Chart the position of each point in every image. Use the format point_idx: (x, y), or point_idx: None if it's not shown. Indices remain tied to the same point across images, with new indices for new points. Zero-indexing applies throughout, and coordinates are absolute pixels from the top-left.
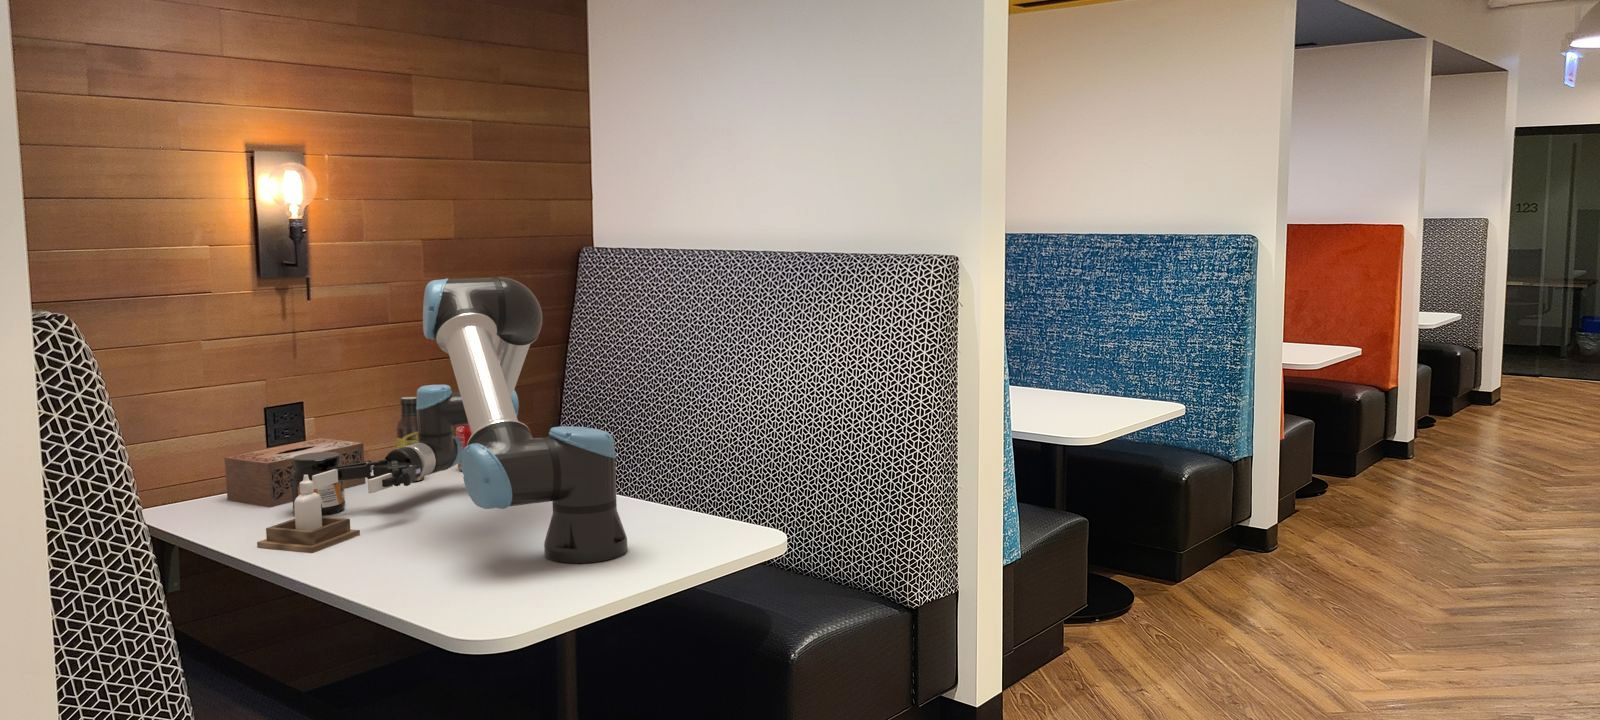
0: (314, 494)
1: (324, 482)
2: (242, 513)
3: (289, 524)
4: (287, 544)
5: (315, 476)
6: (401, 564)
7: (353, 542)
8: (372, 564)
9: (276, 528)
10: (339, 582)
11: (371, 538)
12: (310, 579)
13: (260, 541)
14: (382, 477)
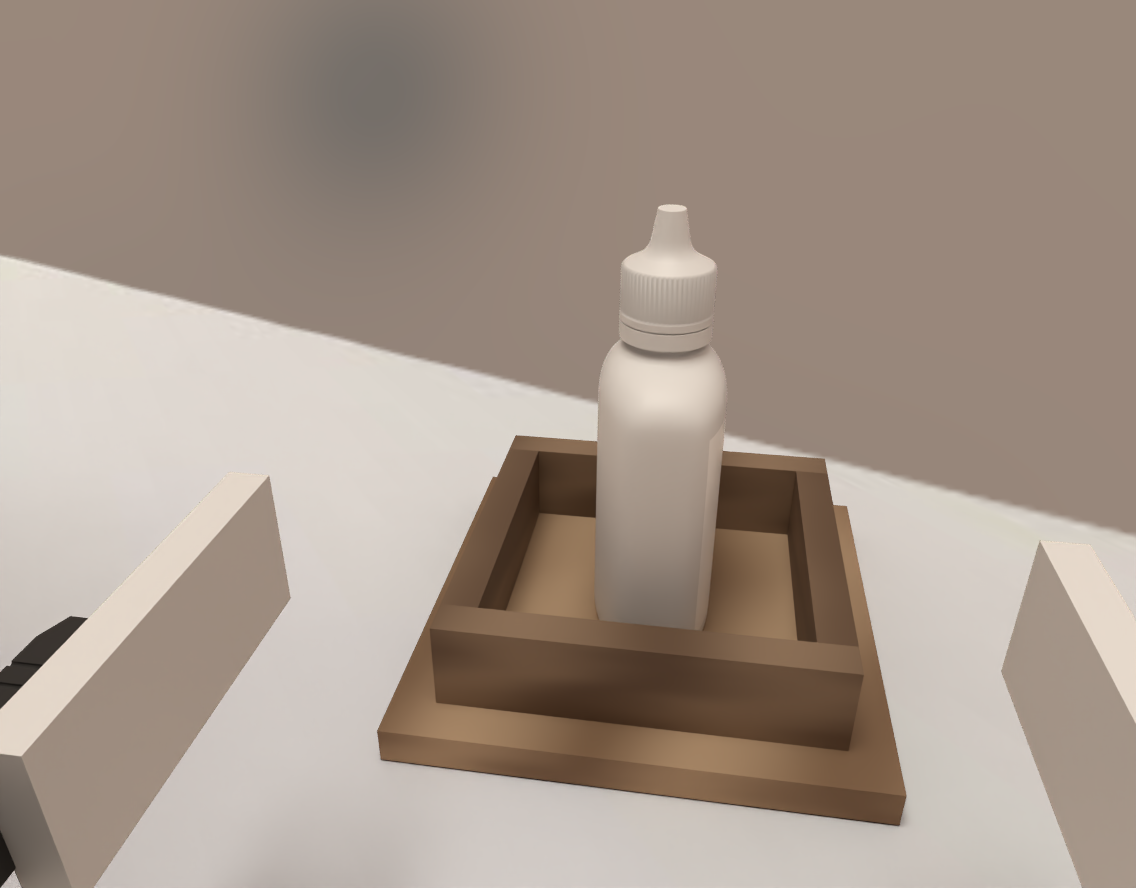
0: (612, 358)
1: (1058, 748)
2: None
3: (802, 551)
4: None
5: (1038, 549)
6: (23, 444)
7: (358, 634)
8: (153, 436)
9: (760, 459)
10: (232, 344)
11: (265, 708)
12: (341, 350)
13: (839, 513)
14: (116, 602)
